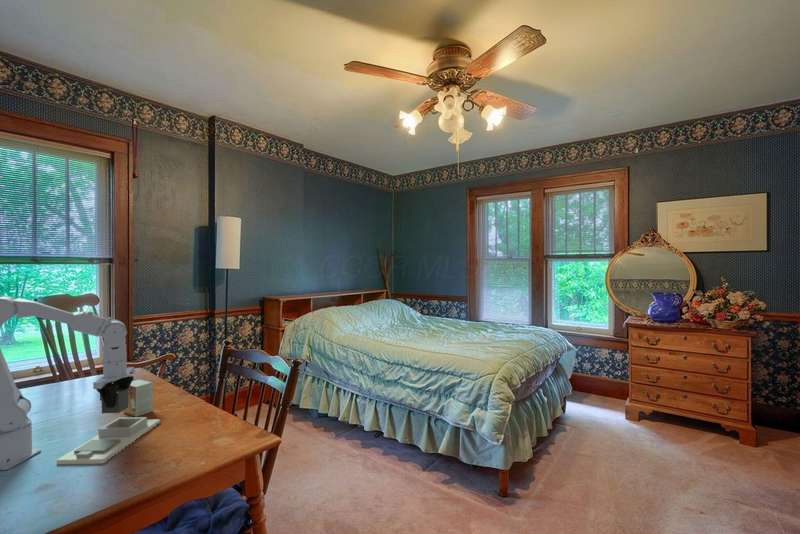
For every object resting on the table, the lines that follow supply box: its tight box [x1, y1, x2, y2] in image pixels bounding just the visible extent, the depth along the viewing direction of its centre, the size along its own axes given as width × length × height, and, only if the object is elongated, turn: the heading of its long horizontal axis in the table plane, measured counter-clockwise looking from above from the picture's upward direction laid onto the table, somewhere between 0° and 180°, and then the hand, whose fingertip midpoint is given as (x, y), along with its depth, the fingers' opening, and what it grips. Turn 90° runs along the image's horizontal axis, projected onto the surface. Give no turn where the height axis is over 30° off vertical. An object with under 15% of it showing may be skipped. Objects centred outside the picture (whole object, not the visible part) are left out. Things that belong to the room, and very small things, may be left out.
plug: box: [99, 389, 128, 414], centre depth 112 cm, size 4×6×6 cm, turn 93°
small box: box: [123, 379, 154, 417], centre depth 128 cm, size 8×6×10 cm
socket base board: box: [56, 416, 161, 465], centre depth 108 cm, size 24×12×4 cm, turn 2°
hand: (115, 404), depth 112 cm, fingers closed on plug, 4 cm apart
